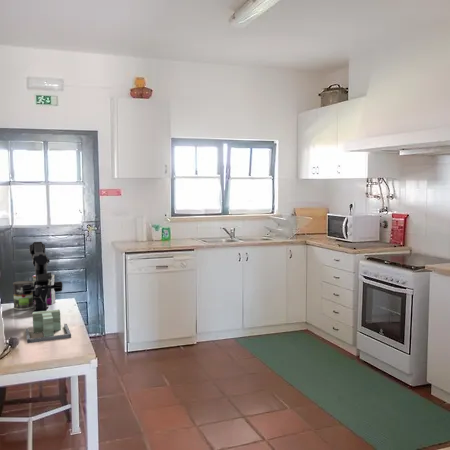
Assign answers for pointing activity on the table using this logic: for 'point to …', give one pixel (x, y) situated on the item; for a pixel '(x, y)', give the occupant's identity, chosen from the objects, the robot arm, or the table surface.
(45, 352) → the table surface
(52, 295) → the candy bar box
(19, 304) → the coffee can
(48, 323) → the T-block
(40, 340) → the frame
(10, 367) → the table surface
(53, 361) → the table surface
